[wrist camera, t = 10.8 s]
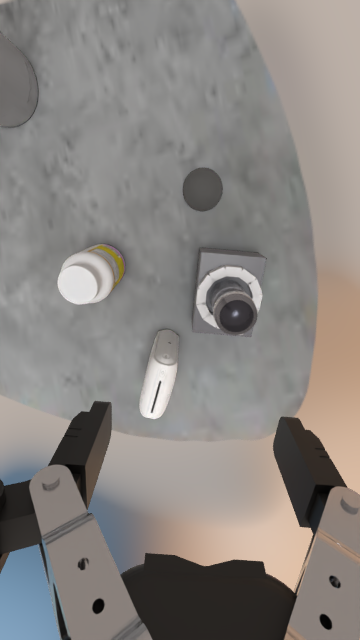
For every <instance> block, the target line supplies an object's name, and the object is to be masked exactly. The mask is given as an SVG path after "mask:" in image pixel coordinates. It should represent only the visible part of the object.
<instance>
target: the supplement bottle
mask: <svg viewBox="0 0 360 640" xmlns="http://www.w3.org/2000/svg"><path fill="white" fill-rule="evenodd" d="M124 273H125V262H124V259H123V257H122V255H121V254H120V252H119V251H118V250H117V249H115V248H114V247H112V246H110V245H106V244H98V245H94V246H92V247H89V248H87V249H85V250H83V251H80V252H78V253H76V254H73V255H72V256H70V257H69V258H68V259H67V260H66V261H65V262H64V264H63V266H62V268H61V273H60V274H59V277H58V288H59V291H60V293H61V294H62V296H63V297H64V298H65V299H66V300H68V301H69V302H71V303H74V304H86V303H96V302H99V301H101V300H103V299H104V298H105V297H107V296H108V294H109V293H110V292H111V291H112V290H113V289H114V287H115V286H116V285H117V284H118V283H119V281H120V280H121V279H122V277H123V275H124Z"/></svg>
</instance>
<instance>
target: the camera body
mask: <svg viewBox="0 0 360 640" xmlns="http://www.w3.org/2000/svg"><path fill="white" fill-rule="evenodd" d="M266 259H267V258H266V257H264V256H263V255H261V254H259V253H255V252H244V251H233V250H222V249H211V248H200V250H199V260H198V269H197V278H196V287H195V296H194V305H193V315H192V330H193V332H198V333H210V334H221V335H230V334H227V333H225V332H223V331H222V330H221V329H220V328H219V327H218V325H217V324H216V322H215V320H214V316H213V309H212V306H211V302H210V293H211V290H212V288H213V287H214V286H215V285H216V284H217V283H218V282H220V281H223V280H233V281H236V282H238V283H239V284H240V285H241V286H242V288H243V289H244V290H245V292H246V293H247V295H249V296H250V297H251V299H252V300H253V301H254V303H255V306H256V308H257V313H258V309H259V310H260V305H261V300H262V291H261V285H262V280H263V275H264V269H265V264H266ZM252 331H253V327H252V328H251V329H250V330H249V331H247V332H246V333H244V334H240V335H233V336H245V337H251V336H252Z"/></svg>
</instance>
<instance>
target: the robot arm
mask: <svg viewBox="0 0 360 640" xmlns="http://www.w3.org/2000/svg"><path fill="white" fill-rule="evenodd" d="M37 99H38V86H37V80H36V77H35V74H34V71H33V69H32V67H31V65H30V63H29V61H28V60H27V58H26V57H25V56H24V54H23V53H22V52H21V51H20V50H19V49H18V48H17V47H16V46H15V45H13V44H12V43H11V42H10V41H9V40H8V39H7V38H6V37H5V36H4V35H3V34H2V33H1V32H0V126H3V127H15V126H19V125H21V124H23V123H24V122H26V121H27V120H28V119H29V118H30V117H31V115H32V114H33V112H34V110H35V107H36V104H37ZM111 429H112V406H111V402H101V401H95V402H94V403H93V405H92V407H91V410H90V412H83V411H81V412H80V413H79V414H78V415H77V416H76V417H74V418H73V420H72V422H71V423H70V425H69V427H68V429H67V431H66V433H65V435H64V437H63V439H62V440H61V442H60V444H59V446H58V448H57V450H56V452H55V454H54V456H53V457H52V459H51V461H50V463H49V465H48V466H47V467H45V468H43V469H41V470H40V471H39V472H37V473H36V475H34V477H33V478H32V479H31V480H28V481H25V482H21V483H16V484H11V485H6V486H4V485H3V482H2V481H1V480H0V573H1V570H2V568H3V566H4V564H5V562H6V559H7V557H8V555H9V553H10V552H11V551H15V550H18V549H22V548H26V547H29V546H33V545H37V544H38V546H39V550H40V555H41V558H42V563H43V566H44V571H45V575H46V579H47V583H48V587H49V590H50V595H51V600H52V605H53V610H54V615H55V619H56V623H57V627H58V632H59V635H60V640H359V639H360V495H359V494H358V493H356V492H355V491H353V490H351V489H349V488H347V486H346V484H345V483H344V481H343V479H342V477H341V476H340V474H339V472H338V470H337V469H336V467H335V465H334V464H333V462H332V460H331V459H330V458H329V455H328V453H327V452H326V451H325V448H324V447H323V445H322V443H321V442H320V440H319V438H317V436H315V435H314V434H313V433H312V432H311V431H310V430H305V429H304V427H303V425H302V423H301V421H300V420H299V419H298V418H292V417H281V418H280V420H279V423H278V427H277V431H276V435H275V439H274V443H273V450H274V456H275V459H276V461H277V464H278V467H279V470H280V472H281V475H282V478H283V481H284V483H285V486H286V489H287V492H288V495H289V497H290V500H291V503H292V505H293V508H294V511H295V514H296V516H297V519H298V522H299V525H300V527H308V528H311V530H312V532H313V536H312V539H311V543H310V545H309V548H308V551H307V554H306V557H305V560H304V563H303V566H302V569H301V572H300V575H299V578H298V581H297V584H296V586H295V589H294V592H293V591H292V590H291V589H290V588H288V587H287V586H286V585H285V584H284V583H282V582H281V581H279V580H278V579H276V578H275V577H273V576H271V575H268V574H266V572H265V568H264V563H263V562H260V561H247V560H231V561H227V562H223V563H219V564H215V565H211V566H201V565H199V564H196V563H194V562H191V561H188V560H186V559H183V558H180V557H178V556H175V555H164V554H148V553H146V554H145V563H144V564H141V565H138V566H135V567H133V568H130V569H129V570H127V571H125V572H123V573H122V574H121V575H120V573H119V571H118V569H117V566H116V564H115V562H114V560H113V558H112V555H111V553H110V551H109V548H108V546H107V544H106V542H105V539H104V537H103V535H102V532H101V530H100V528H99V526H98V523H97V521H96V519H95V517H94V515H93V514H92V513H90V514H89V513H88V511H87V510H88V507H89V504H90V500H91V497H92V494H93V491H94V488H95V485H96V482H97V479H98V475H99V473H100V469H101V466H102V463H103V460H104V457H105V454H106V451H107V448H108V445H109V441H110V436H111Z"/></svg>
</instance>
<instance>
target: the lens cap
mask: <svg viewBox="0 0 360 640" xmlns="http://www.w3.org/2000/svg"><path fill="white" fill-rule="evenodd" d="M183 195H184V198H185V201H186V202H187V204H188V205H189V206H190V207H191V208H193V209H195V210H198V211H207V210H210V209H212V208H213V207H214V206H216V205H217V203H218V202H219V200H220V198H221V196H222V182H221V179H220V177H219V176H218V175H217V173H215V172H214V171H213V170H211V169H208V168H198V169H196V170H194V171H192V172H191V173H190V174H189V175H188V176H187V178H186V179H185V182H184V185H183Z"/></svg>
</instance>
